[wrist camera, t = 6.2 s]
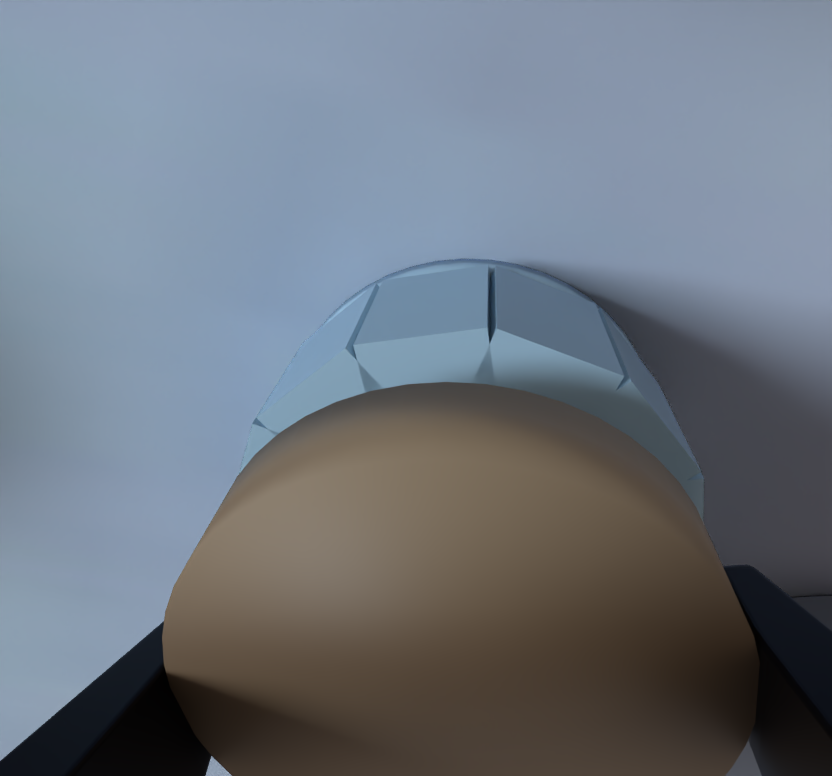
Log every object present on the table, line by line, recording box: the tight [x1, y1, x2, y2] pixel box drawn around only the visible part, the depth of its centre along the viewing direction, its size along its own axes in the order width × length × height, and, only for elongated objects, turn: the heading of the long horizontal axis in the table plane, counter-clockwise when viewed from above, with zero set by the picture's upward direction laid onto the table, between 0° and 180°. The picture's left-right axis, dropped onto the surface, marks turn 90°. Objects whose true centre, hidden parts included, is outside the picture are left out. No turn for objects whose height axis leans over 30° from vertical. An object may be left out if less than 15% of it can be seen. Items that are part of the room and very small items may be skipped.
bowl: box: [239, 259, 704, 521], centre depth 12 cm, size 7×7×4 cm
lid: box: [162, 382, 760, 776], centre depth 8 cm, size 7×7×2 cm
